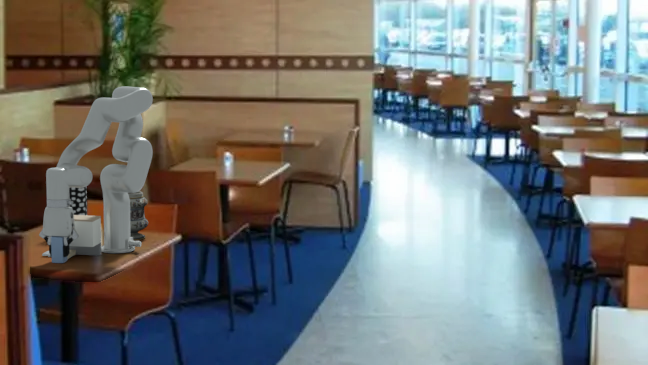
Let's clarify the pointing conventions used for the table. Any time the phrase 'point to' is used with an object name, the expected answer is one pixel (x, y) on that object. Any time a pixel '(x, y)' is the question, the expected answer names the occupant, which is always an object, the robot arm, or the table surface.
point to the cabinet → (87, 235)
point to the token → (46, 254)
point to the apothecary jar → (137, 215)
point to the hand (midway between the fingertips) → (59, 255)
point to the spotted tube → (78, 200)
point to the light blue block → (59, 250)
